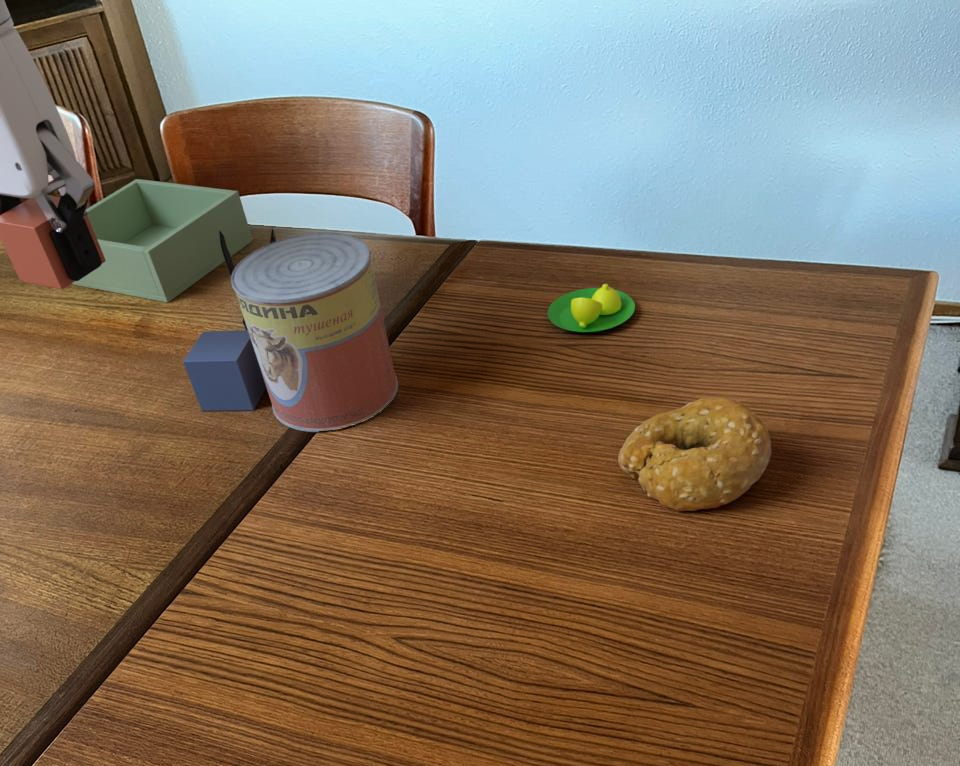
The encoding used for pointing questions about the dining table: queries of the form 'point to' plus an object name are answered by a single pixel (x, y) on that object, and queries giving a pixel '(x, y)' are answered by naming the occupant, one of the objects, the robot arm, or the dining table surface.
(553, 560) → the dining table surface
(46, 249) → the terracotta block
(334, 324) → the canned food
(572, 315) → the green plate with lemons
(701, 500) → the bagel
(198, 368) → the slate-blue block
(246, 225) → the bin
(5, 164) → the robot arm
